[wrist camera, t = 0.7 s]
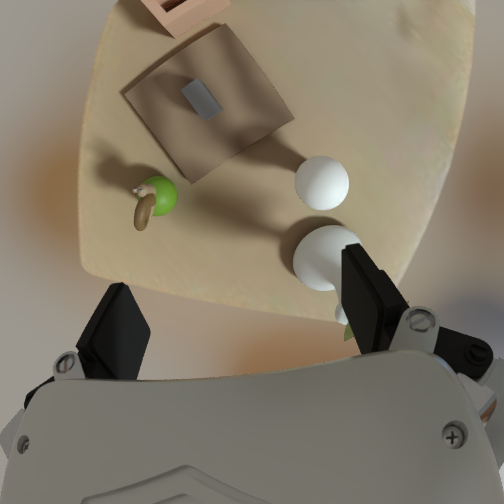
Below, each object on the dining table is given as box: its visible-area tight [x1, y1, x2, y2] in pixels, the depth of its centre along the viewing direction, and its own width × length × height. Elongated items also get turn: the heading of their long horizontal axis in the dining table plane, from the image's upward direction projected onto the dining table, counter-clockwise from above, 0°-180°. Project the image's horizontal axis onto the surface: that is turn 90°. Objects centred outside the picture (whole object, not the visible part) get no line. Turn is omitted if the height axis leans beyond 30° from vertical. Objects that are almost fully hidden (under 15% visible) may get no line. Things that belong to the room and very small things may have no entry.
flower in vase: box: [293, 225, 409, 341], centre depth 32 cm, size 13×11×25 cm
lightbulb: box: [295, 156, 349, 210], centre depth 32 cm, size 6×6×11 cm
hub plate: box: [125, 23, 295, 184], centre depth 29 cm, size 16×16×7 cm
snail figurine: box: [132, 176, 177, 231], centre depth 32 cm, size 5×6×12 cm
